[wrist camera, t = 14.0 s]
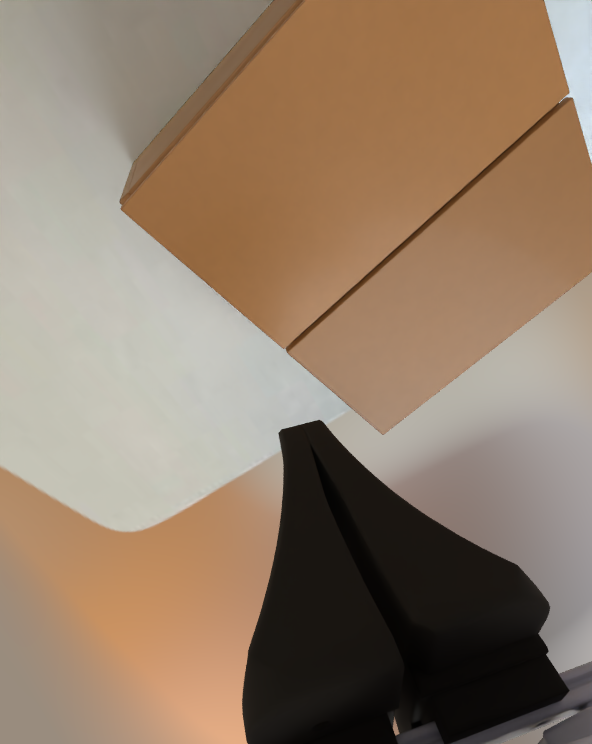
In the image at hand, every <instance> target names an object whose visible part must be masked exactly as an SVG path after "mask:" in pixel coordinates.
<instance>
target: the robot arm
mask: <svg viewBox="0 0 592 744" xmlns="http://www.w3.org/2000/svg"><path fill="white" fill-rule="evenodd" d="M279 438H280V444H281V450H282V455H283V464H284V478H283V479H284V480H283V481H284V482H283V483H284V484H283V500H282V511H281V519H280V528H279V534H278V540H277V546H276V551H275V556H274V562H273V566H272V570H271V575H270V579H269V583H268V587H267V591H266V594H265V598H264V602H263V605H262V609H261V612H260V616H259V619H258V622H257V625H256V629H255V632H254V635H253V638H252V641H251V644H250V647H249V650H248V659H247V665H246V672H245V679H244V687H243V699H242V706H243V707H242V709H243V720H244V726H245V733H246V740H247V743H248V744H501V743H503V742H506V741H508V740H511V739H513V738H516V737H518V736H521V735H523V734H526V733H528V732H531V731H533V730H536V729H539V728H541V727H544V726H546V725H549V724H551V723H554V722H556V721H559V720H561V719H564V718H566V717H569V716H571V715H573V716H571V717H569V718H568V719H566V720H564V721H562V722H560V723H558V724H557V725H554V726H553V727H551V728H549V729H547V730H545V731H544V732H543V738H542V739H541V740H540V742H539V743H538V744H592V662H589V663H586V664H583V665H581V666H578V667H576V668H573V669H570V670H568V671H565V672H562V673H560V674H558V672H557V671H556V669H555V668H554V666H553V665H552V663H551V662H550V660H549V659H548V657H547V655H546V654H547V653H548V648H547V646H546V644H545V643H544V641H543V640H542V639H541V637H540V636H539V634H538V633H539V631H540V630H541V627H542V626H543V624H544V623H545V621H546V619H547V617H548V614H549V611H550V606H549V603H548V601H547V600H546V598H545V597H544V596H543V594H542V593H541V592H540V590H539V589H538V588H537V586H536V585H535V584H534V583H533V582H532V581H531V580H530V578H529V577H528V576H527V575H526V574H525V573H524V572H523V571H522V570H521V569H520V567H519V566H518V565H516V564H514V563H512V562H510V561H508V560H506V559H503V558H501V557H499V556H497V555H495V554H493V553H491V552H489V551H487V550H485V549H483V548H481V547H479V546H477V545H475V544H474V543H472V542H470V541H468V540H466V539H465V538H463V537H461V536H459V535H457V534H456V533H454V532H453V531H451V530H449V529H447V528H446V527H444V526H443V525H441V524H439V523H438V522H436V521H435V520H433V519H431V518H430V517H428V516H427V515H425V514H424V513H422V512H421V511H419V510H418V509H416V508H415V507H413V506H412V505H411V504H409V503H408V502H407V501H405V500H404V499H402V498H401V497H400V496H398V495H397V494H396V493H395V492H393V491H392V490H391V489H390V488H388V487H387V486H386V485H385V484H384V483H382V482H381V481H380V480H379V479H378V478H377V477H375V476H374V475H373V474H372V473H371V472H370V471H369V470H368V469H366V468H365V467H364V466H363V465H362V464H361V463H360V462H359V461H358V460H357V459H356V458H355V457H354V456H353V455H352V454H351V453H350V452H349V451H348V450H347V449H346V448H345V447H344V446H343V445H342V444H341V443H340V442H339V441H338V439H337V438H336V437H335V436H334V435H333V434H332V433H331V431H330V430H329V429H328V428H327V426H326V425H325V424H324V423H323V422H322V421H321V420H317V421H313V422H309V423H305V424H301V425H297V426H293V427H289V428H286V429H282V430H281V431H280V432H279ZM576 713H577V714H576ZM574 714H575V715H574ZM394 717H395V720H396V723H397V726H398V730H399V733H400V734H398V735H396V736H395V734H394V731H393V722H394V721H393V720H394Z"/></svg>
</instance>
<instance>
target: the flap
mask: <svg viewBox="0 0 592 744" xmlns="http://www.w3.org/2000/svg"><path fill="white" fill-rule="evenodd" d="M567 94H569V88H568V85H567V81H566V78H565V74H564V71H563V67H562V63H561V60H560V56H559V53H558V49H557V45H556V42H555V38H554V35H553V31H552V28H551V24H550V20H549V17H548V13H547V10H546V6H545V2H544V0H303V1H302V2H301V3H300V5H299V6H298V7H297V8H296V9H295V10H294V11H293V12H292V14H291V15H290V16H289V17H288V18H287V19H286V20H285V22H284V23H283V24H282V25H281V26H280V27H279V28H278V29H277V31H276V32H275V33H274V34H273V35H272V36H271V37H270V39H269V40H268V41H267V42H266V43H265V44H264V45H263V46H262V48H261V49H260V50H259V51H258V52H257V53H256V54H255V55H254V57H253V58H252V59H251V60H250V61H249V62H248V63H247V65H246V66H245V67H244V68H243V69H242V70H241V71H240V72H239V74H238V75H237V76H236V77H235V78H234V79H233V80H232V82H231V83H230V84H229V85H228V86H227V87H226V88H225V89H224V91H223V92H222V93H221V94H220V95H219V96H218V97H217V99H216V100H215V101H214V102H213V103H212V104H211V105H210V106H209V108H208V109H207V110H206V111H205V112H204V113H203V114H202V116H201V117H200V118H199V119H198V120H197V121H196V122H195V123H194V125H193V126H192V127H191V128H190V129H189V130H188V131H187V133H186V134H185V135H184V136H183V137H182V138H181V139H180V140H179V142H178V143H177V144H176V145H175V146H174V147H173V148H172V150H171V151H170V152H169V153H168V154H167V155H166V156H165V157H164V159H163V160H162V161H161V162H160V163H159V164H158V165H157V166H156V168H155V169H154V170H153V171H152V172H151V173H150V174H149V176H148V177H147V178H146V179H145V180H144V181H143V182H142V183H141V185H140V186H139V187H138V188H137V189H136V190H135V191H134V193H133V194H132V195H131V196H130V197H129V198H128V199H127V200H126V202H125V203H124V204H123V205H122V206H121V210H122V211H123V212H124V213H125V214H126V215H128V216H129V217H130V218H131V219H132V220H133V221H135V222H136V223H137V224H138V225H139V226H140V227H142V228H143V229H144V230H145V231H146V232H147V233H149V234H150V235H151V236H152V237H153V238H154V239H156V240H157V241H158V242H159V243H160V244H161V245H163V246H164V247H165V248H166V249H167V250H168V251H170V252H171V253H172V254H173V255H174V256H175V257H177V258H178V259H179V260H180V261H181V262H182V263H184V264H185V265H186V266H187V267H188V268H189V269H191V270H192V271H193V272H194V273H195V274H196V275H198V276H199V277H200V278H201V279H202V280H203V281H205V282H206V283H207V284H208V285H209V286H210V287H212V288H213V289H214V290H215V291H216V292H217V293H219V294H220V295H221V296H222V297H223V298H224V299H226V300H227V301H228V302H229V303H230V304H231V305H233V306H234V307H235V308H236V309H237V310H238V311H240V312H241V313H242V314H243V315H244V316H245V317H247V318H248V319H249V320H250V321H251V322H252V323H254V324H255V325H256V326H257V327H258V328H259V329H261V330H262V331H263V332H264V333H265V334H266V335H268V336H269V337H270V338H271V339H272V340H273V341H275V342H276V343H277V344H278V345H279V346H280V347H282V348H283V349H284V348H286V347H287V346H288V345H289V344H290V343H291V342H292V341H293V340H294V339H296V338H297V337H298V336H299V335H300V334H301V333H302V332H303V331H304V330H306V329H307V328H308V327H309V326H310V325H311V324H312V323H313V322H314V321H316V320H317V319H318V318H319V317H320V316H321V315H322V314H323V313H325V312H326V311H327V310H328V309H329V308H330V307H331V306H332V305H333V304H335V303H336V302H337V301H338V300H339V299H340V298H341V297H342V296H343V295H345V294H346V293H347V292H348V291H349V290H350V289H351V288H352V287H353V286H355V285H356V284H357V283H358V282H359V281H360V280H361V279H362V278H364V277H365V276H366V275H367V274H368V273H369V272H370V271H371V270H372V269H374V268H375V267H376V266H377V265H378V264H379V263H380V262H381V261H382V260H384V259H385V258H386V257H387V256H388V255H389V254H390V253H391V252H392V251H394V250H395V249H396V248H397V247H398V246H399V245H400V244H401V243H403V242H404V241H405V240H406V239H407V238H408V237H409V236H410V235H411V234H413V233H414V232H415V231H416V230H417V229H418V228H419V227H420V226H421V225H423V224H424V223H425V222H426V221H427V220H428V219H429V218H430V217H431V216H433V215H434V214H435V213H436V212H437V211H438V210H439V209H440V208H442V207H443V206H444V205H445V204H446V203H447V202H448V201H449V200H450V199H452V198H453V197H454V196H455V195H456V194H457V193H458V192H459V191H460V190H462V189H463V188H464V187H465V186H466V185H467V184H468V183H469V182H470V181H472V180H473V179H474V178H475V177H476V176H477V175H478V174H479V173H481V172H482V171H483V170H484V169H485V168H486V167H487V166H488V165H489V164H491V163H492V162H493V161H494V160H495V159H496V158H497V157H498V156H499V155H501V154H502V153H503V152H504V151H505V150H506V149H507V148H508V147H509V146H511V145H512V144H513V143H514V142H515V141H516V140H517V139H518V138H520V137H521V136H522V135H523V134H524V133H525V132H526V131H527V130H528V129H530V128H531V127H532V126H533V125H534V124H535V123H536V122H537V121H538V120H540V119H541V118H542V117H543V116H544V115H545V114H546V113H547V112H548V111H550V110H551V109H552V108H553V107H554V106H555V105H556V104H557V103H559V102H560V101H561V100H562V99H563V98H564V97H565V96H566V95H567Z"/></svg>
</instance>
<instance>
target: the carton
mask: <svg viewBox="0 0 592 744" xmlns="http://www.w3.org/2000/svg"><path fill="white" fill-rule="evenodd" d="M302 1H303V0H274V1H273V2H272V3H271V4H270V5H269V6H268V8H267V9H266V10H265V11H264V12H263V13H262V15H261V16H260V17H259V18H258V19H257V20H256V21H255V23H254V24H253V25H252V26H251V27H250V28H249V30H248V31H247V32H246V33H245V34H244V35H243V37H242V38H241V39H240V40H239V41H238V42H237V43H236V45H235V46H234V47H233V48H232V49H231V50H230V52H229V53H228V54H227V55H226V56H225V57H224V58H223V60H222V61H221V62H220V63H219V64H218V65H217V67H216V68H215V69H214V70H213V71H212V72H211V74H210V75H209V76H208V77H207V78H206V79H205V80H204V82H203V83H202V84H201V85H200V86H199V87H198V89H197V90H196V91H195V92H194V93H193V94H192V95H191V97H190V98H189V99H188V100H187V101H186V102H185V104H184V105H183V106H182V107H181V108H180V109H179V111H178V112H177V113H176V114H175V115H174V116H173V117H172V119H171V120H170V121H169V122H168V123H167V124H166V126H165V127H164V128H163V129H162V130H161V131H160V133H159V134H158V135H157V136H156V137H155V138H154V139H153V141H152V142H151V143H150V144H149V145H148V146H147V148H146V149H145V150H144V151H143V152H142V153H141V154H140V156H139V157H138V158H137V159H136V160H135V161H134V163H133V164H132V167H131V170H130V173H129V176H128V179H127V181H126V184H125V187H124V190H123V193H122V196H121V199H120V204H122V205H123V204H124V203H125V202H126V200H127V199H128V198H129V197H130V196H131V195H132V194H133V193H134V191H135V190H136V189H137V188H138V187H139V186H140V185H141V183H142V182H143V181H144V180H145V179H146V178H147V177H148V176H149V174H150V173H151V172H152V171H153V170H154V169H155V168H156V166H157V165H158V164H159V163H160V162H161V161H162V160H163V159H164V157H165V156H166V155H167V154H168V153H169V152H170V151H171V150H172V148H173V147H174V146H175V145H176V144H177V143H178V142H179V140H180V139H181V138H182V137H183V136H184V135H185V134H186V133H187V131H188V130H189V129H190V128H191V127H192V126H193V125H194V123H195V122H196V121H197V120H198V119H199V118H200V117H201V116H202V114H203V113H204V112H205V111H206V110H207V109H208V108H209V106H210V105H211V104H212V103H213V102H214V101H215V100H216V99H217V97H218V96H219V95H220V94H221V93H222V92H223V91H224V89H225V88H226V87H227V86H228V85H229V84H230V83H231V82H232V80H233V79H234V78H235V77H236V76H237V75H238V74H239V72H240V71H241V70H242V69H243V68H244V67H245V66H246V65H247V63H248V62H249V61H250V60H251V59H252V58H253V57H254V55H255V54H256V53H257V52H258V51H259V50H260V49H261V48H262V46H263V45H264V44H265V43H266V42H267V41H268V40H269V39H270V37H271V36H272V35H273V34H274V33H275V32H276V31H277V29H278V28H279V27H280V26H281V25H282V24H283V23H284V22H285V20H286V19H287V18H288V17H289V16H290V15H291V14H292V12H293V11H294V10H295V9H296V8H297V7H298V6H299V5H300V3H301V2H302ZM591 272H592V164H591V160H590V157H589V153H588V150H587V146H586V143H585V139H584V136H583V132H582V129H581V125H580V122H579V118H578V115H577V111H576V108H575V104H574V101H573V98H568V97H566V98H564V99H563V100H562V101H561V102H560V103H557V104H556V105H555V106H554V107H553V108H552V109H551V110H550V111H548V112H547V113H546V114H545V115H544V116H543V117H542V118H541V119H540V120H538V121H537V122H536V123H535V124H534V125H533V126H532V127H531V128H530V129H528V130H527V131H526V132H525V133H524V134H523V135H522V136H521V137H520V138H518V139H517V140H516V141H515V142H514V143H513V144H512V145H511V146H509V147H508V148H507V149H506V150H505V151H504V152H503V153H502V154H501V155H499V156H498V157H497V158H496V159H495V160H494V161H493V162H492V163H491V164H489V165H488V166H487V167H486V168H485V169H484V170H483V171H482V172H481V173H479V174H478V175H477V176H476V177H475V178H474V179H473V180H472V181H470V182H469V183H468V184H467V185H466V186H465V187H464V188H463V189H462V190H460V191H459V192H458V193H457V194H456V195H455V196H454V197H453V198H452V199H450V200H449V201H448V202H447V203H446V204H445V205H444V206H443V207H442V208H440V209H439V210H438V211H437V212H436V213H435V214H434V215H433V216H431V217H430V218H429V219H428V220H427V221H426V222H425V223H424V224H423V225H421V226H420V227H419V228H418V229H417V230H416V231H415V232H414V233H413V234H411V235H410V236H409V237H408V238H407V239H406V240H405V241H404V242H403V243H401V244H400V245H399V246H398V247H397V248H396V249H395V250H394V251H392V252H391V253H390V254H389V255H388V256H387V257H386V258H385V259H384V260H382V261H381V262H380V263H379V264H378V265H377V266H376V267H375V268H374V269H372V270H371V271H370V272H369V273H368V274H367V275H366V276H365V277H364V278H362V279H361V280H360V281H359V282H358V283H357V284H356V285H355V286H353V287H352V288H351V289H350V290H349V291H348V292H347V293H346V294H345V295H343V296H342V297H341V298H340V299H339V300H338V301H337V302H336V303H335V304H333V305H332V306H331V307H330V308H329V309H328V310H327V311H326V312H325V313H323V314H322V315H321V316H320V317H319V318H318V319H317V320H316V321H314V322H313V323H312V324H311V325H310V326H309V327H308V328H307V329H306V330H304V331H303V332H302V333H301V334H300V335H299V336H298V337H297V338H296V339H294V340H293V341H292V342H291V343H290V344H289V345H288V346H287V347H286V351H287V353H288V354H289V355H290V356H292V357H293V358H294V359H295V360H296V361H297V362H298V363H300V364H301V365H302V366H303V367H304V368H305V369H307V370H308V371H309V372H310V373H311V374H312V375H314V376H315V377H316V378H317V379H318V380H319V381H321V382H322V383H323V384H324V385H325V386H326V387H328V388H329V389H330V390H331V391H332V392H333V393H335V394H336V395H337V396H338V397H339V398H340V399H342V400H343V401H344V402H345V403H346V404H347V405H348V406H350V407H351V408H352V409H353V410H354V411H356V412H357V413H358V414H359V415H360V416H362V418H364V419H365V420H366V421H367V422H368V423H369V424H371V425H372V426H373V427H374V428H375V429H376V430H378V431H379V432H380V433H381V434H382V435H384V434H385V433H386V432H388V431H389V430H390V429H391V428H393V427H394V426H395V425H396V424H398V423H399V422H400V421H402V420H403V419H404V418H406V417H407V416H408V415H409V414H411V413H412V412H413V411H415V410H416V409H417V408H418V407H419V406H421V405H422V404H423V403H425V402H426V401H427V400H429V399H430V398H431V397H432V396H434V395H435V394H436V393H437V392H439V391H440V390H441V389H443V388H444V387H445V386H446V385H448V384H449V383H450V382H452V381H453V380H454V379H456V378H457V377H458V376H459V375H461V374H462V373H463V372H464V371H466V370H467V369H468V368H470V367H471V366H472V365H473V364H475V363H476V362H477V361H478V360H480V359H481V358H482V357H484V356H485V355H486V354H488V353H489V352H490V351H491V350H493V349H494V348H495V347H497V346H498V345H499V344H500V343H502V342H503V341H504V340H506V339H507V338H508V337H509V336H511V335H512V334H513V333H515V332H516V331H517V330H518V329H520V328H521V327H522V326H524V325H525V324H526V323H527V322H529V321H530V320H531V319H532V318H534V317H535V316H536V315H538V314H539V313H540V312H541V311H543V310H544V309H545V308H546V307H548V306H549V305H550V304H552V303H553V302H554V301H556V300H557V299H558V298H559V297H561V296H562V295H563V294H565V293H566V292H567V291H568V290H570V289H571V288H572V287H574V286H575V285H576V284H577V283H579V282H580V281H581V280H582V279H584V278H585V277H586V276H587V275H589V274H590V273H591Z"/></svg>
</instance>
